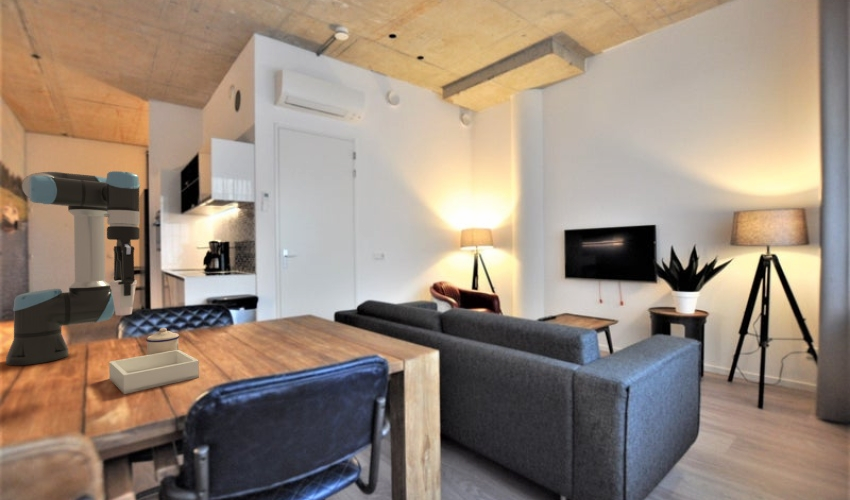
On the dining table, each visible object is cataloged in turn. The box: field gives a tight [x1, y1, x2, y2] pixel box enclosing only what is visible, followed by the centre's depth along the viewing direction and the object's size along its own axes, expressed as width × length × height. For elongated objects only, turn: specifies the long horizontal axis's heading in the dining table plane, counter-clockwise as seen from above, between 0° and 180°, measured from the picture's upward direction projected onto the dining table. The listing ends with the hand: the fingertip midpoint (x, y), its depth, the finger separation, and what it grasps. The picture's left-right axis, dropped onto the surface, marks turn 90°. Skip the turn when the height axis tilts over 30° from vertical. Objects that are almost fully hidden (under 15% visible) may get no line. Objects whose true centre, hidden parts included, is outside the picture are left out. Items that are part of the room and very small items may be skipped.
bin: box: [108, 349, 200, 395], centre depth 116 cm, size 18×18×5 cm
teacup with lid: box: [145, 327, 180, 355], centre depth 131 cm, size 12×9×12 cm
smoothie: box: [109, 279, 138, 316], centre depth 114 cm, size 6×6×14 cm
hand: (123, 305), depth 114 cm, fingers closed on smoothie, 6 cm apart
